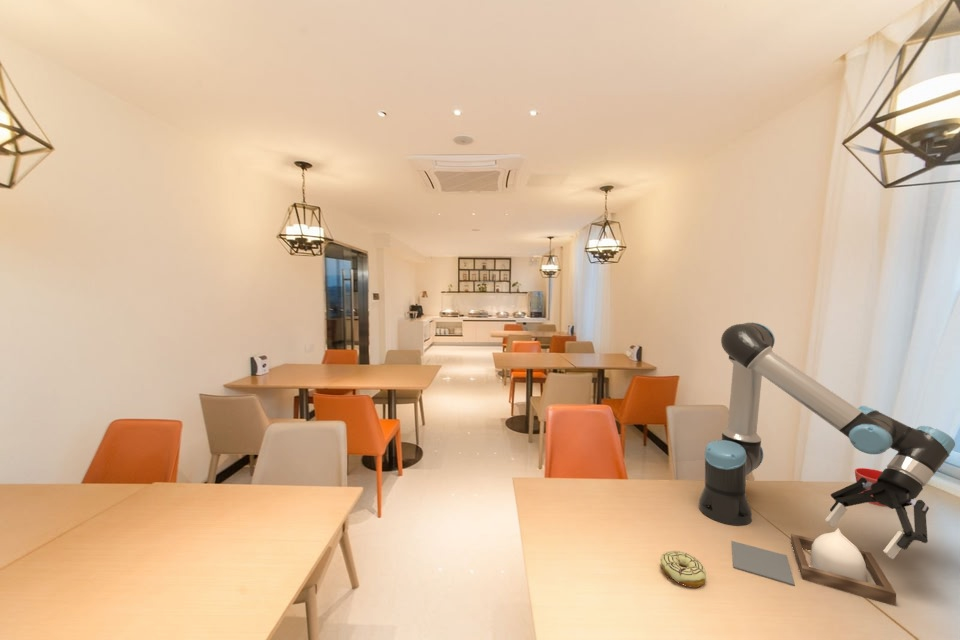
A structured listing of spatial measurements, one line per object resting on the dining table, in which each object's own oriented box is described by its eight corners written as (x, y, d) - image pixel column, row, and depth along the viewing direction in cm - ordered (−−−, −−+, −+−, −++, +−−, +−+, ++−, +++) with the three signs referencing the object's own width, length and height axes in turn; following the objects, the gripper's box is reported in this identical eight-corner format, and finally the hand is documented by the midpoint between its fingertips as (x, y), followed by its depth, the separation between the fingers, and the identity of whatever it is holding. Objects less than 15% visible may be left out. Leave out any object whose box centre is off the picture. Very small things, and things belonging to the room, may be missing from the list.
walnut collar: (802, 579, 98) (802, 568, 98) (791, 543, 112) (791, 533, 112) (895, 605, 89) (896, 593, 89) (870, 563, 103) (870, 552, 103)
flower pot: (907, 508, 130) (907, 481, 130) (874, 509, 130) (875, 481, 130) (875, 493, 141) (876, 467, 140) (845, 493, 141) (846, 468, 140)
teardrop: (854, 563, 103) (855, 521, 103) (876, 592, 93) (877, 545, 93) (803, 553, 108) (804, 512, 107) (819, 579, 98) (820, 534, 97)
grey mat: (733, 567, 103) (733, 566, 103) (731, 542, 114) (731, 540, 114) (795, 586, 96) (795, 584, 96) (786, 556, 107) (786, 555, 107)
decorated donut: (675, 591, 95) (675, 577, 95) (653, 562, 106) (653, 549, 105) (715, 588, 96) (715, 574, 95) (688, 559, 106) (688, 546, 106)
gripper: (979, 510, 89) (926, 580, 88) (859, 466, 114) (816, 520, 112) (962, 491, 88) (908, 561, 87) (844, 450, 113) (801, 505, 111)
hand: (856, 538), depth 100 cm, fingers open, 13 cm apart
